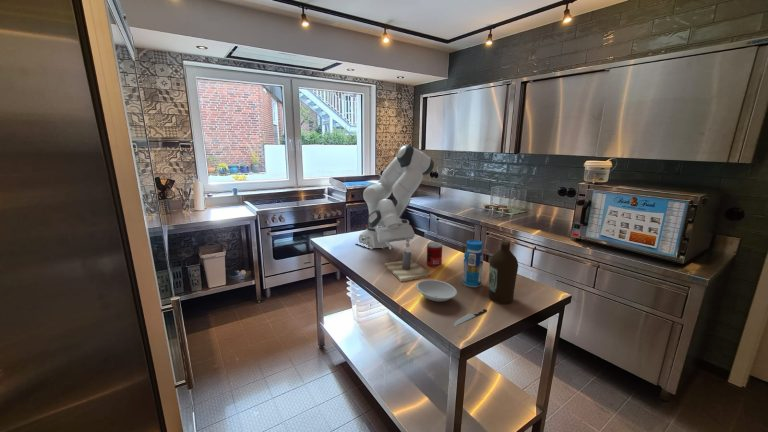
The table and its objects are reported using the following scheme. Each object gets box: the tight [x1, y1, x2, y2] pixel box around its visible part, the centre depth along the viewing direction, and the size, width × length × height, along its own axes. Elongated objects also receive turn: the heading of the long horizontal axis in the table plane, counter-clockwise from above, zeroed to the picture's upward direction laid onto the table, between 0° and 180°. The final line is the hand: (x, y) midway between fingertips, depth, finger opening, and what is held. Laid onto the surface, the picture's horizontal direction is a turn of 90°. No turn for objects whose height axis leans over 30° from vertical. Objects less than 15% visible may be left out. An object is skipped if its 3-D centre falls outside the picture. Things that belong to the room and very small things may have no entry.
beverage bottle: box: [462, 239, 484, 288], centre depth 134 cm, size 8×8×20 cm
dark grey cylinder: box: [402, 249, 412, 270], centre depth 149 cm, size 4×4×9 cm
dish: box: [415, 279, 458, 303], centre depth 122 cm, size 18×14×5 cm
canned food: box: [426, 241, 443, 268], centre depth 158 cm, size 8×8×11 cm
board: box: [384, 259, 430, 282], centre depth 150 cm, size 20×15×2 cm
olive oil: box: [488, 239, 519, 305], centre depth 120 cm, size 11×11×25 cm
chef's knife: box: [453, 308, 488, 327], centre depth 110 cm, size 19×1×3 cm
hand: (399, 247), depth 155 cm, fingers open, 8 cm apart
